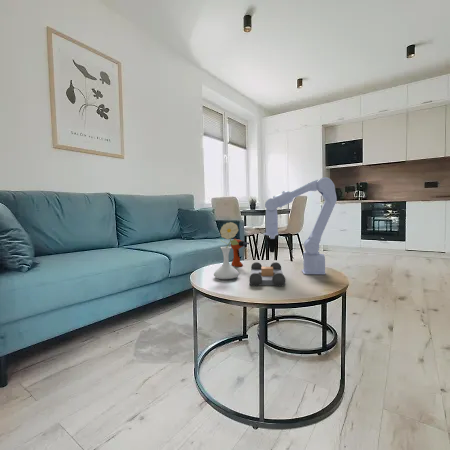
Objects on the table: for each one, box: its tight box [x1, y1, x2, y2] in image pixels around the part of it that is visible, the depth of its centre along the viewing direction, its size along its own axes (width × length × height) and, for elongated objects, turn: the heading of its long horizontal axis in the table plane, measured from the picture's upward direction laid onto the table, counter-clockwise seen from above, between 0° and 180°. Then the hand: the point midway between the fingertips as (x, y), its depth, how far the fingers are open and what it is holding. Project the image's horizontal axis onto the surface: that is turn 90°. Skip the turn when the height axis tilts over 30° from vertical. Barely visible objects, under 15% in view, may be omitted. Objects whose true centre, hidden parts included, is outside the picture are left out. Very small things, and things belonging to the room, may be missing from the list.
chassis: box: [248, 261, 286, 287], centre depth 120 cm, size 14×24×5 cm, turn 173°
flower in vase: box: [213, 221, 240, 280], centre depth 121 cm, size 13×11×25 cm
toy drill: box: [230, 238, 250, 268], centre depth 145 cm, size 5×19×15 cm, turn 24°
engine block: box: [261, 266, 273, 276], centre depth 120 cm, size 5×4×5 cm
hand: (272, 252), depth 133 cm, fingers closed
